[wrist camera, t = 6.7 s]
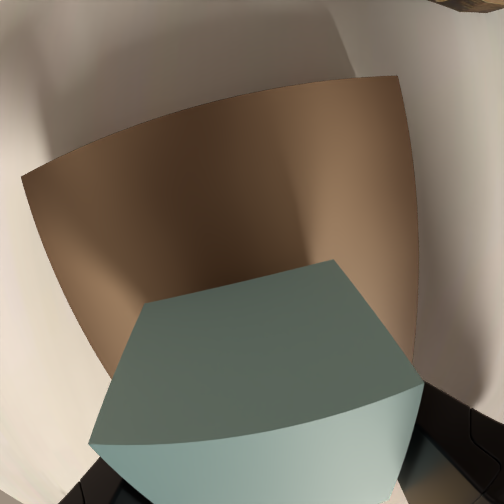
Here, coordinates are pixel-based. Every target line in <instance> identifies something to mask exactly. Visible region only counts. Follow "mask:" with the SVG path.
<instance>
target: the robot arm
mask: <svg viewBox="0 0 504 504" xmlns="http://www.w3.org/2000/svg"><path fill="white" fill-rule="evenodd" d="M423 381H424V380H423ZM397 480H398V482H399V484H400V486H401V488H402V490H403V492H404V495H405V497H406V499H407V501H408V503H409V504H504V424H502V423H500V422H498V421H496V420H494V419H492V418H490V417H488V416H486V415H484V414H482V413H480V412H479V411H477V410H475V409H473V408H471V409H470V407H469V406H468V405H466V404H464V403H462V402H461V401H459V400H457V399H455V398H454V397H452V396H450V395H448V394H447V393H445V392H443V391H441V390H440V389H438V388H436V387H434V386H433V385H431V384H429V383H427V382H426V381H424V388H423V392H422V397H421V401H420V405H419V409H418V413H417V417H416V421H415V425H414V429H413V432H412V436H411V439H410V442H409V446H408V449H407V452H406V455H405V458H404V461H403V464H402V467H401V470H400V473H399V475H398V478H397ZM58 504H154V503H152V502H151V501H150V500H149V499H147V498H146V497H145V496H144V495H142V494H141V493H140V492H139V491H137V490H136V489H135V488H134V487H133V486H132V485H130V484H129V483H128V482H127V481H126V480H125V479H124V478H122V477H121V476H120V475H119V474H118V473H117V472H116V471H115V470H114V469H113V468H112V467H111V466H110V465H108V464H107V463H106V462H105V461H104V460H103V459H102V458H101V457H99V458H98V460H97V461H96V462H95V463H94V464H93V465H92V467H91V468H90V469H89V470H88V471H87V472H86V474H85V475H84V476H83V477H82V478H81V479H80V482H78V483H77V484H76V485H75V486H74V487H73V488H72V490H71V491H70V492H69V493H68V494H67V495H66V496H65V497H64V498H63V499H62V500H61V501H60V502H59V503H58Z"/></svg>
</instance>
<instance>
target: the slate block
mask: <svg viewBox="0 0 504 504" xmlns="http://www.w3.org/2000/svg"><path fill="white" fill-rule="evenodd" d="M423 388H424V381H423V380H422V379H421V377H420V376H419V374H418V373H417V371H416V370H415V368H414V367H413V365H412V364H411V362H410V361H409V360H408V358H407V357H406V355H405V354H404V352H403V351H402V350H401V348H400V347H399V345H398V344H397V343H396V341H395V340H394V338H393V337H392V336H391V334H390V333H389V331H388V330H387V329H386V327H385V326H384V325H383V323H382V322H381V321H380V319H379V318H378V316H377V315H376V314H375V312H374V311H373V310H372V308H371V307H370V306H369V304H368V303H367V302H366V300H365V299H364V298H363V296H362V295H361V294H360V292H359V291H358V290H357V289H356V287H355V286H354V285H353V283H352V282H351V281H350V279H349V278H348V277H347V276H346V274H345V273H344V272H343V270H342V269H341V268H340V267H339V265H338V264H337V263H336V262H335V260H334V259H332V260H328V261H324V262H320V263H316V264H312V265H308V266H304V267H300V268H296V269H292V270H288V271H284V272H280V273H276V274H272V275H268V276H263V277H259V278H255V279H251V280H247V281H243V282H238V283H234V284H230V285H225V286H221V287H217V288H212V289H208V290H204V291H199V292H195V293H190V294H186V295H181V296H177V297H172V298H168V299H163V300H159V301H154V302H150V303H145V304H144V306H143V308H142V310H141V312H140V315H139V317H138V319H137V321H136V323H135V326H134V328H133V330H132V333H131V335H130V337H129V340H128V342H127V344H126V347H125V349H124V351H123V354H122V356H121V358H120V361H119V363H118V366H117V368H116V371H115V373H114V376H113V378H112V381H111V383H110V386H109V388H108V391H107V393H106V396H105V399H104V401H103V404H102V407H101V409H100V412H99V415H98V417H97V420H96V423H95V426H94V429H93V431H92V434H91V437H90V440H89V443H88V444H89V445H90V446H91V448H92V449H93V450H94V451H95V452H96V453H97V454H98V455H99V456H100V457H101V458H102V459H103V460H104V461H105V462H106V463H107V464H108V465H110V466H111V467H112V468H113V469H114V470H115V471H116V472H117V473H118V474H119V475H120V476H121V477H122V478H124V479H125V480H126V481H127V482H128V483H129V484H130V485H132V486H133V487H134V488H135V489H136V490H137V491H139V492H140V493H141V494H142V495H144V496H145V497H146V498H147V499H149V500H150V501H151V502H152V503H154V504H380V503H383V502H386V501H388V500H389V499H390V496H391V494H392V491H393V489H394V486H395V484H396V481H397V478H398V475H399V473H400V470H401V467H402V464H403V461H404V458H405V455H406V452H407V449H408V446H409V442H410V439H411V436H412V432H413V429H414V425H415V421H416V417H417V413H418V409H419V405H420V401H421V397H422V392H423Z"/></svg>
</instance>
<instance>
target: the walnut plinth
mask: <svg viewBox="0 0 504 504" xmlns="http://www.w3.org/2000/svg"><path fill="white" fill-rule="evenodd" d="M21 179H22V183H23V186H24V190H25V193H26V196H27V200H28V203H29V206H30V209H31V212H32V215H33V218H34V221H35V224H36V227H37V230H38V233H39V235H40V238H41V241H42V243H43V246H44V248H45V251H46V253H47V256H48V258H49V261H50V263H51V266H52V268H53V270H54V273H55V275H56V277H57V279H58V282H59V284H60V286H61V288H62V290H63V293H64V295H65V297H66V299H67V301H68V303H69V305H70V307H71V309H72V311H73V313H74V315H75V317H76V319H77V321H78V323H79V325H80V326H81V328H82V330H83V332H84V334H85V336H86V337H87V339H88V341H89V343H90V345H91V346H92V348H93V350H94V351H95V353H96V355H97V357H98V358H99V360H100V362H101V363H102V365H103V366H104V368H105V370H106V371H107V373H108V374H109V376H110V378H111V379H112V378H113V376H114V373H115V371H116V368H117V366H118V363H119V361H120V358H121V356H122V354H123V351H124V349H125V347H126V344H127V342H128V340H129V337H130V335H131V333H132V330H133V328H134V326H135V323H136V321H137V319H138V317H139V315H140V312H141V310H142V308H143V306H144V304H145V303H150V302H154V301H159V300H163V299H168V298H172V297H177V296H181V295H186V294H190V293H195V292H199V291H204V290H208V289H212V288H217V287H221V286H225V285H230V284H234V283H238V282H243V281H247V280H251V279H255V278H259V277H263V276H268V275H272V274H276V273H280V272H284V271H288V270H292V269H296V268H300V267H304V266H308V265H312V264H316V263H320V262H324V261H328V260H332V259H334V260H335V262H336V263H337V264H338V265H339V267H340V268H341V269H342V270H343V272H344V273H345V274H346V276H347V277H348V278H349V279H350V281H351V282H352V283H353V285H354V286H355V287H356V289H357V290H358V291H359V292H360V294H361V295H362V296H363V298H364V299H365V300H366V302H367V303H368V304H369V306H370V307H371V308H372V310H373V311H374V312H375V314H376V315H377V316H378V318H379V319H380V321H381V322H382V323H383V325H384V326H385V327H386V329H387V330H388V331H389V333H390V334H391V336H392V337H393V338H394V340H395V341H396V343H397V344H398V345H399V347H400V348H401V350H402V351H403V352H404V354H405V355H406V357H407V358H408V360H409V361H410V362H411V364H412V360H413V352H414V343H415V332H416V320H417V305H418V281H419V237H418V213H417V198H416V185H415V175H414V166H413V158H412V150H411V143H410V136H409V130H408V124H407V118H406V113H405V107H404V102H403V97H402V93H401V88H400V84H399V79H398V76H377V77H361V78H349V79H338V80H329V81H320V82H313V83H305V84H298V85H292V86H286V87H280V88H274V89H269V90H264V91H258V92H253V93H249V94H244V95H239V96H235V97H231V98H226V99H222V100H218V101H214V102H210V103H207V104H203V105H199V106H195V107H192V108H188V109H185V110H181V111H178V112H175V113H172V114H168V115H165V116H162V117H159V118H156V119H153V120H150V121H147V122H144V123H141V124H138V125H135V126H133V127H130V128H127V129H125V130H122V131H119V132H117V133H114V134H111V135H109V136H106V137H104V138H101V139H99V140H97V141H94V142H92V143H89V144H87V145H85V146H83V147H80V148H78V149H76V150H74V151H71V152H69V153H67V154H65V155H63V156H61V157H58V158H56V159H54V160H52V161H50V162H48V163H46V164H44V165H42V166H40V167H38V168H36V169H34V170H33V171H31V172H29V173H27V174H25V175H23V176H21Z"/></svg>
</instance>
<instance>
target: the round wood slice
mask: <svg viewBox="0 0 504 504" xmlns="http://www.w3.org/2000/svg"><path fill="white" fill-rule="evenodd" d="M428 1H431V2H434V3H437V4H440V5H443V6H446V7H448V8H451V9H454V10H456V11H459V12H478V13H488V12H492V11H495V10H499V9H503V8H504V0H428Z"/></svg>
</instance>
